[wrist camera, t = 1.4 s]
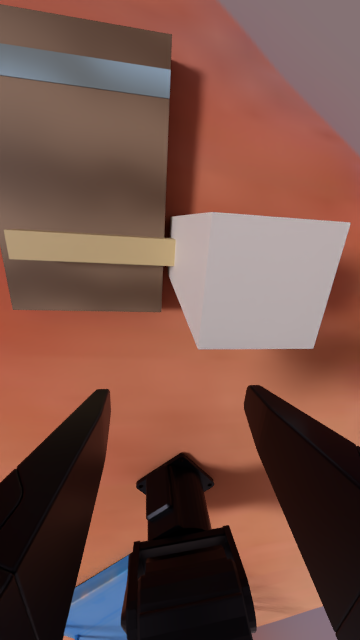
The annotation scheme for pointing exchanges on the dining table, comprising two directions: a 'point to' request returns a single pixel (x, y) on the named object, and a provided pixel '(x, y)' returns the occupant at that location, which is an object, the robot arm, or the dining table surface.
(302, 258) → the white box
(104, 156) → the plank
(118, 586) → the file sorter
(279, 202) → the dining table surface
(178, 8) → the dining table surface
